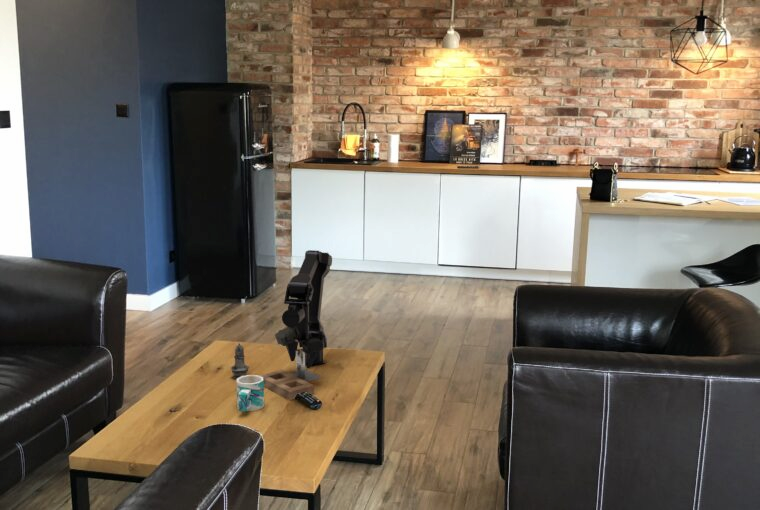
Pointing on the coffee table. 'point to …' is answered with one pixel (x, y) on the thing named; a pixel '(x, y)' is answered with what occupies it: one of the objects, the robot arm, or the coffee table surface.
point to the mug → (250, 392)
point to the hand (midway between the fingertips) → (300, 364)
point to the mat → (308, 376)
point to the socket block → (286, 384)
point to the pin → (300, 364)
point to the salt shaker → (239, 363)
